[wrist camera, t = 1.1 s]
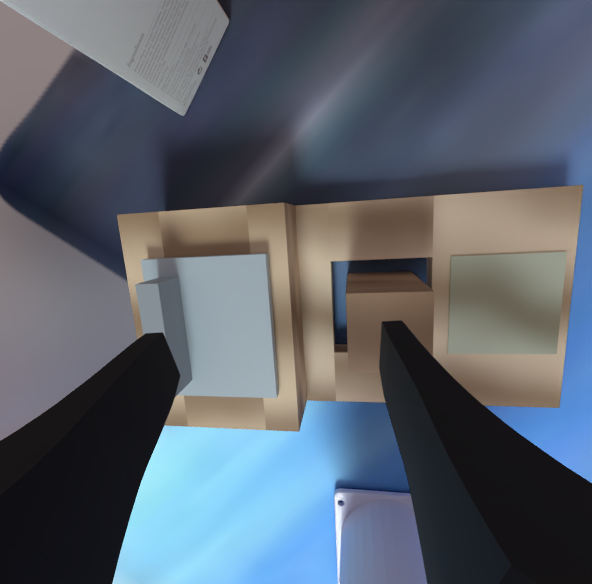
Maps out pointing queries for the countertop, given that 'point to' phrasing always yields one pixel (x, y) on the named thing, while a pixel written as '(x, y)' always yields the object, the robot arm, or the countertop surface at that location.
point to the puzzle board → (389, 245)
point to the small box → (139, 39)
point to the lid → (214, 322)
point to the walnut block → (385, 313)
